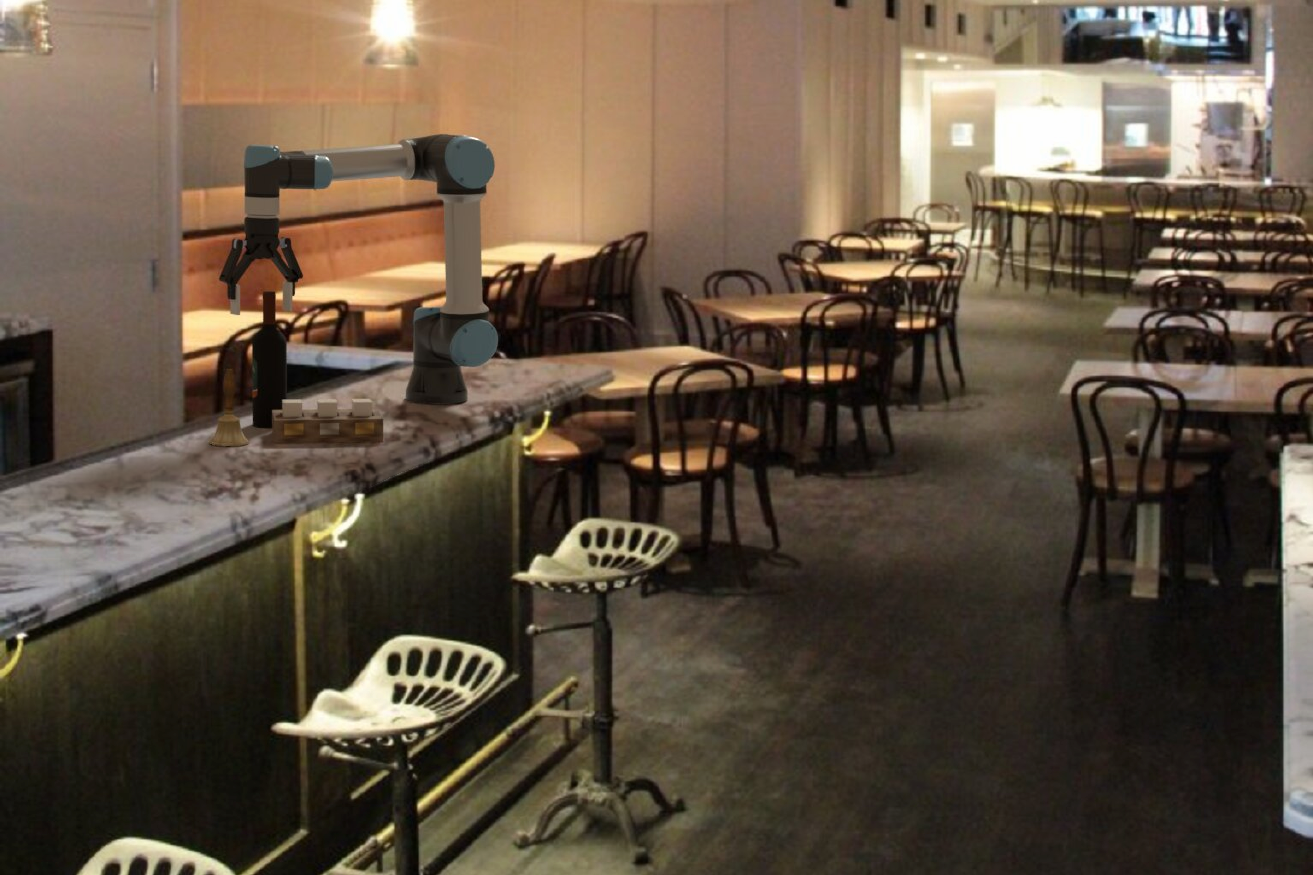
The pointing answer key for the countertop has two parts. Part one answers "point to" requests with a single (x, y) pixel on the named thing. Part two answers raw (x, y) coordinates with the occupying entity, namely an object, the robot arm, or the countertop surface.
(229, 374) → the hand bell
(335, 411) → the middle button
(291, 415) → the outer button
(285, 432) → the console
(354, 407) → the inner button
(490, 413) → the countertop surface
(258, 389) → the wine bottle
